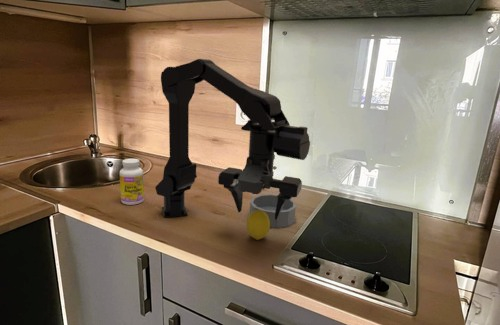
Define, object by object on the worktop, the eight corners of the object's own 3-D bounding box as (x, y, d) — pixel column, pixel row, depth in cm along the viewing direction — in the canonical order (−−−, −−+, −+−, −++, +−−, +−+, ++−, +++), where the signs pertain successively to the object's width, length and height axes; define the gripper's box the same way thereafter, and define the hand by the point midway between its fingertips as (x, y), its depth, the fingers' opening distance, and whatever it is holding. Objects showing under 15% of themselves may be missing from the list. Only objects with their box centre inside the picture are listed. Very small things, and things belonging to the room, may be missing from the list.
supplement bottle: (121, 206, 93) (118, 164, 90) (120, 198, 99) (117, 158, 96) (145, 204, 96) (143, 162, 93) (143, 196, 102) (141, 156, 98)
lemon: (255, 232, 82) (257, 203, 80) (273, 239, 79) (275, 209, 77) (241, 239, 78) (242, 209, 76) (259, 248, 75) (261, 216, 73)
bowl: (244, 210, 95) (244, 196, 94) (282, 206, 99) (283, 192, 98) (259, 230, 83) (260, 214, 82) (302, 224, 88) (304, 209, 87)
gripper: (207, 154, 68) (206, 221, 72) (294, 166, 62) (287, 239, 66) (229, 144, 78) (227, 203, 82) (305, 154, 72) (298, 217, 76)
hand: (257, 215), depth 77 cm, fingers open, 9 cm apart
